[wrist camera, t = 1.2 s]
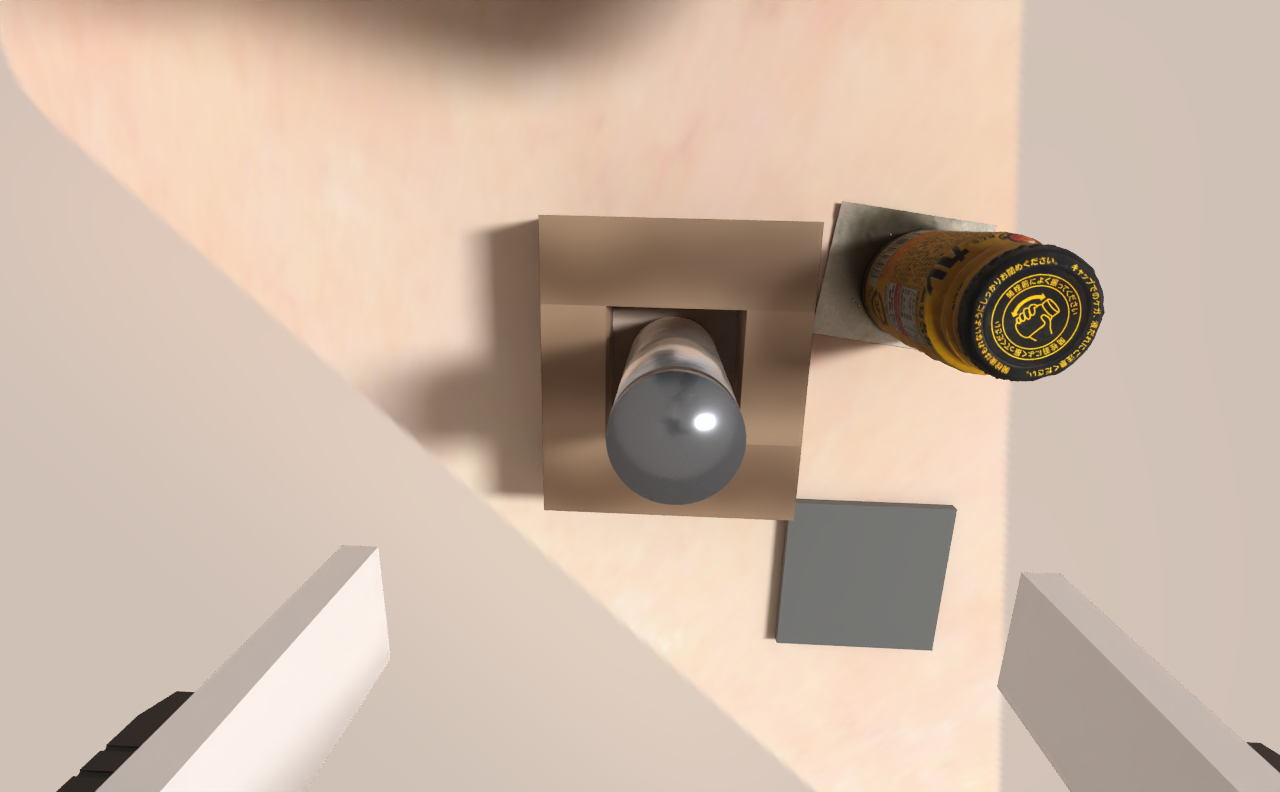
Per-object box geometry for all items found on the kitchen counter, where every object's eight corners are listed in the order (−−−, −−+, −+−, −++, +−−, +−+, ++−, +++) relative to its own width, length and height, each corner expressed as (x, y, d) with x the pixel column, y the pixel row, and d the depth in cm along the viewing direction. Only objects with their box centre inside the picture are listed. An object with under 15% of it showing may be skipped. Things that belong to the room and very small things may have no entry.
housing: (553, 215, 34) (538, 214, 31) (806, 222, 34) (823, 222, 30) (556, 481, 39) (544, 510, 35) (781, 490, 38) (793, 520, 34)
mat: (788, 498, 38) (790, 502, 38) (952, 505, 38) (956, 509, 37) (775, 636, 41) (776, 642, 40) (928, 644, 41) (931, 650, 40)
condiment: (955, 355, 36) (1093, 417, 24) (810, 332, 36) (878, 383, 24) (994, 225, 34) (1165, 225, 22) (840, 201, 34) (930, 188, 22)
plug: (629, 315, 36) (606, 369, 22) (720, 318, 36) (751, 374, 22) (628, 401, 37) (605, 502, 24) (714, 404, 37) (741, 507, 23)
